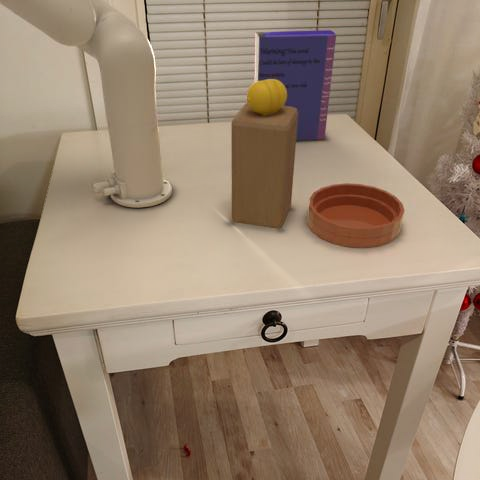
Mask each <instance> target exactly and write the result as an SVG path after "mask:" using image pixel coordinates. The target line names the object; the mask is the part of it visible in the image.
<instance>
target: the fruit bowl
mask: <svg viewBox="0 0 480 480" xmlns="http://www.w3.org/2000/svg"><path fill="white" fill-rule="evenodd" d="M307 206H308V207H307V216H306V217H307V220H306V224H307V226H308V227H309V229H310V231H311V232H312V233H313V234H315V235H316V236H317V237H318V238H320V239H322V240H324V241H326V242H329V243H331V244H333V245H337V246H342V247H347V248H357V249H361V248H362V249H367V248H375V247H380V246H383V245H386V244H389V243H391V242H392V241H393V240H395V239H396V238H397V237H398V236H399V234H400V231H401V228H402V225H403V224H402V223H403V220H404V215H405V207H404V204H403V202H402V201H401V200H400V199H399V198H398V197H397V196H395V195H394V194H392V193H390V192H389V191H387V190H384V189H381V188H379V187H376V186H372V185H366V184H361V183H350V182H349V183H348V182H346V183H335V184H334V183H333V184H330V185H326V186H323V187H320V188H319V189H317V190H316V191H313V192H312V194H311V196H310V197H309V198H308V205H307Z"/></svg>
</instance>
